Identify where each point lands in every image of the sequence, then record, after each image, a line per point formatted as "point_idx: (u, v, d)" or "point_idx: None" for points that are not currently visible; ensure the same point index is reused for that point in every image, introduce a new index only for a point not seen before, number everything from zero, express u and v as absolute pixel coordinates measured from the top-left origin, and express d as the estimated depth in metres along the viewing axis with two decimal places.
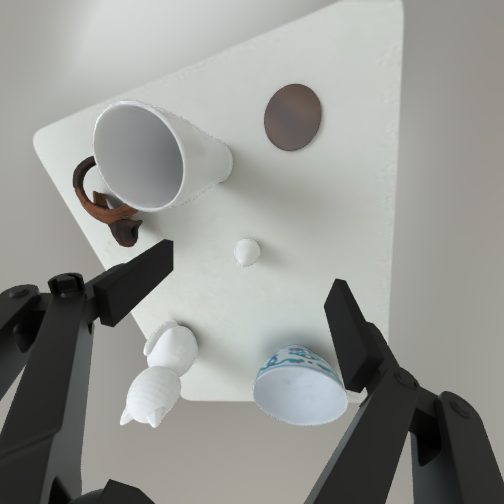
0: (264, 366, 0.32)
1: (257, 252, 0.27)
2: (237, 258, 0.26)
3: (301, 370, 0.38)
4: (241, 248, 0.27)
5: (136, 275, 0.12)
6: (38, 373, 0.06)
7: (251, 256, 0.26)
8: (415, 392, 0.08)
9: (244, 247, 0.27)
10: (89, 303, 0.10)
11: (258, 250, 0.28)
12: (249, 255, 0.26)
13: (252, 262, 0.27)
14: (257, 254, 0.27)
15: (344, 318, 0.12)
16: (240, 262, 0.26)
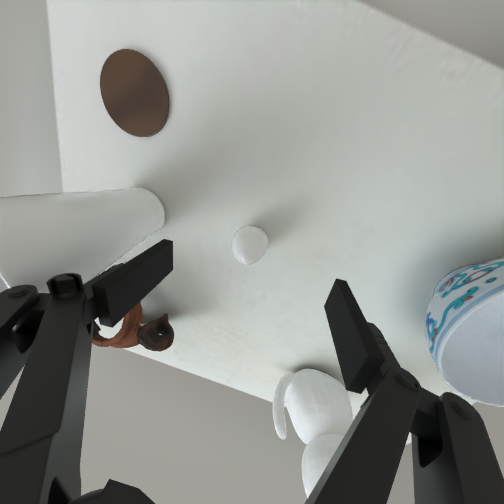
0: (429, 344, 0.18)
1: (253, 232, 0.19)
2: (238, 260, 0.19)
3: (502, 300, 0.20)
4: (233, 247, 0.19)
5: (135, 275, 0.12)
6: (37, 373, 0.06)
7: (248, 243, 0.18)
8: (416, 393, 0.08)
9: (234, 242, 0.19)
10: (88, 303, 0.10)
11: (253, 230, 0.20)
12: (244, 244, 0.18)
13: (257, 247, 0.18)
14: (254, 234, 0.19)
15: (345, 318, 0.12)
16: (242, 261, 0.18)
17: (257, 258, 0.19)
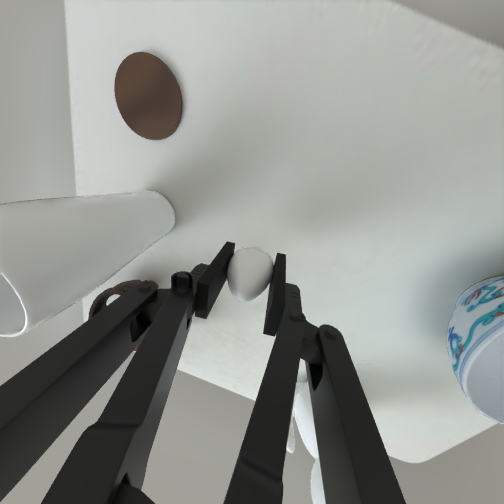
0: (453, 361, 0.17)
1: (254, 257, 0.15)
2: (234, 295, 0.14)
3: None
4: (228, 276, 0.15)
5: (219, 274, 0.14)
6: (144, 356, 0.07)
7: (247, 273, 0.14)
8: (302, 322, 0.10)
9: (229, 270, 0.15)
10: (193, 301, 0.11)
11: (255, 254, 0.15)
12: (242, 275, 0.14)
13: (259, 278, 0.14)
14: (256, 261, 0.14)
15: (272, 281, 0.14)
16: (238, 298, 0.13)
17: (259, 293, 0.14)
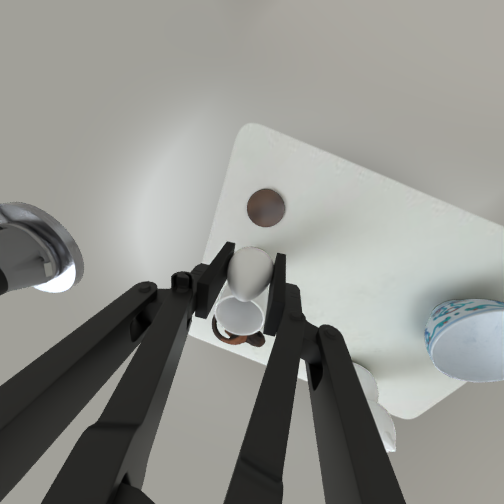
0: (426, 345, 0.33)
1: (254, 257, 0.15)
2: (234, 295, 0.14)
3: (470, 321, 0.35)
4: (228, 276, 0.15)
5: (219, 274, 0.14)
6: (144, 355, 0.07)
7: (247, 273, 0.14)
8: (302, 322, 0.10)
9: (229, 271, 0.15)
10: (193, 301, 0.11)
11: (255, 254, 0.15)
12: (242, 275, 0.14)
13: (259, 278, 0.14)
14: (256, 261, 0.14)
15: (272, 281, 0.14)
16: (238, 298, 0.13)
17: (259, 293, 0.14)
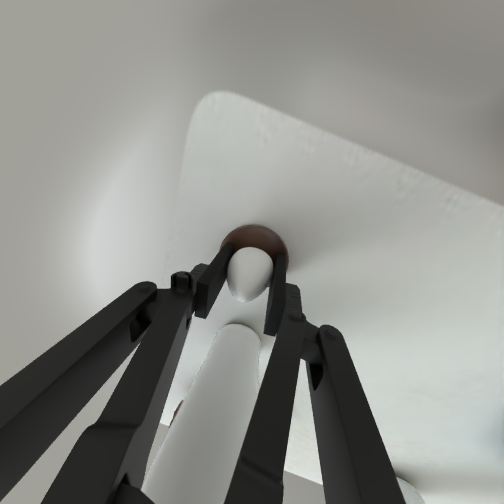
0: None
1: (254, 258, 0.15)
2: None
3: None
4: (227, 277, 0.15)
5: (219, 274, 0.14)
6: (144, 356, 0.07)
7: (247, 274, 0.14)
8: (303, 322, 0.10)
9: (229, 271, 0.15)
10: (192, 301, 0.11)
11: (254, 254, 0.15)
12: (242, 276, 0.14)
13: (259, 279, 0.14)
14: (256, 262, 0.14)
15: (273, 281, 0.14)
16: (238, 299, 0.13)
17: (259, 293, 0.14)
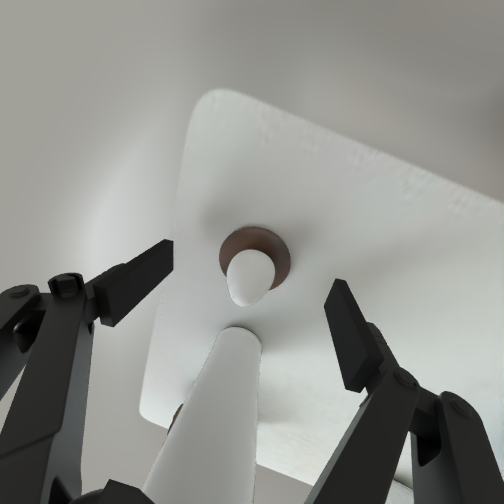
0: None
1: (254, 261, 0.14)
2: (233, 300, 0.13)
3: None
4: (227, 280, 0.14)
5: (136, 275, 0.12)
6: (38, 373, 0.06)
7: (248, 277, 0.13)
8: (415, 392, 0.08)
9: (229, 274, 0.14)
10: (89, 303, 0.10)
11: (255, 257, 0.14)
12: (242, 279, 0.13)
13: (260, 283, 0.13)
14: (257, 265, 0.14)
15: (344, 318, 0.12)
16: (238, 303, 0.13)
17: (260, 297, 0.14)
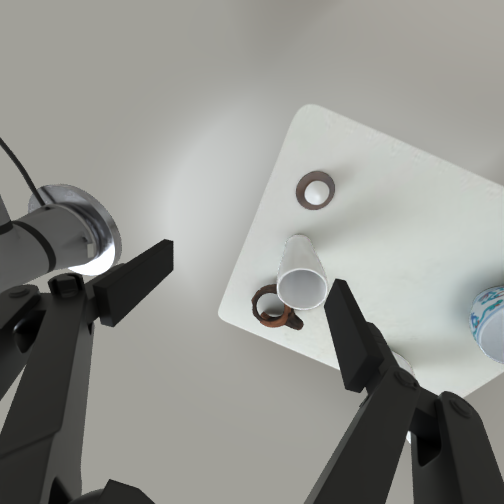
0: (473, 330, 0.33)
1: (322, 183, 0.31)
2: (313, 198, 0.30)
3: None
4: (309, 192, 0.31)
5: (136, 275, 0.12)
6: (38, 373, 0.06)
7: (321, 187, 0.30)
8: (415, 392, 0.08)
9: (310, 189, 0.31)
10: (89, 303, 0.10)
11: (321, 182, 0.31)
12: (318, 188, 0.30)
13: (326, 190, 0.30)
14: (323, 184, 0.30)
15: (344, 318, 0.12)
16: (317, 197, 0.29)
17: (325, 198, 0.30)
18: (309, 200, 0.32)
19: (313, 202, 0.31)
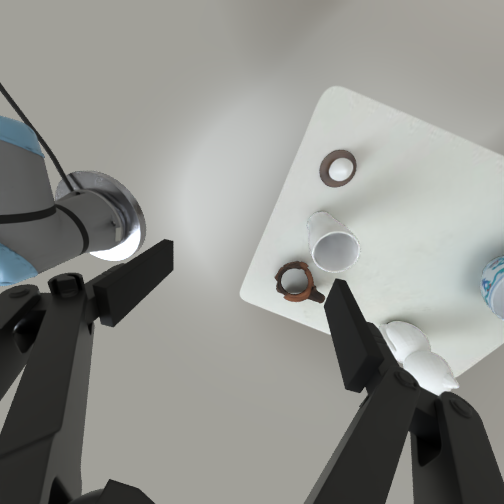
0: (485, 293, 0.36)
1: (346, 159, 0.33)
2: (340, 173, 0.33)
3: None
4: (335, 167, 0.33)
5: (136, 275, 0.12)
6: (38, 373, 0.06)
7: (347, 162, 0.32)
8: (415, 392, 0.08)
9: (336, 164, 0.33)
10: (89, 303, 0.10)
11: None
12: (344, 163, 0.32)
13: (351, 165, 0.32)
14: (348, 160, 0.33)
15: (344, 318, 0.12)
16: (344, 171, 0.32)
17: (350, 173, 0.33)
18: (334, 176, 0.34)
19: (338, 177, 0.34)
